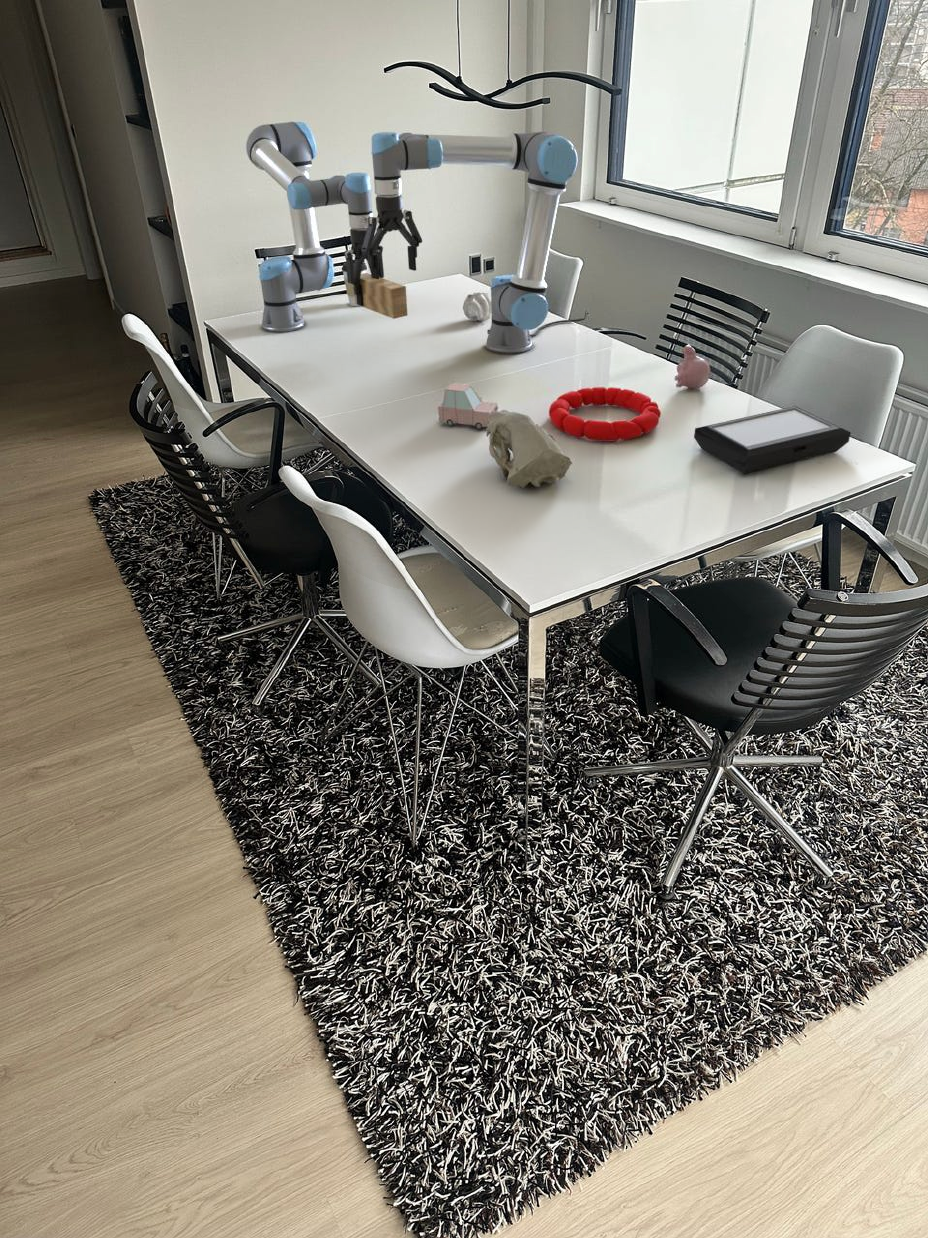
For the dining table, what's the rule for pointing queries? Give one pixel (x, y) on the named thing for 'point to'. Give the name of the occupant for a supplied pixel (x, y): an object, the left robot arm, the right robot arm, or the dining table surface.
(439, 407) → the toy car
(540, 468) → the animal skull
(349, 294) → the coffee cup
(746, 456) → the electronic device
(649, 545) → the dining table surface
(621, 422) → the decorative ring
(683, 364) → the figurine
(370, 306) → the bar
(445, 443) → the dining table surface
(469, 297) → the seashell
